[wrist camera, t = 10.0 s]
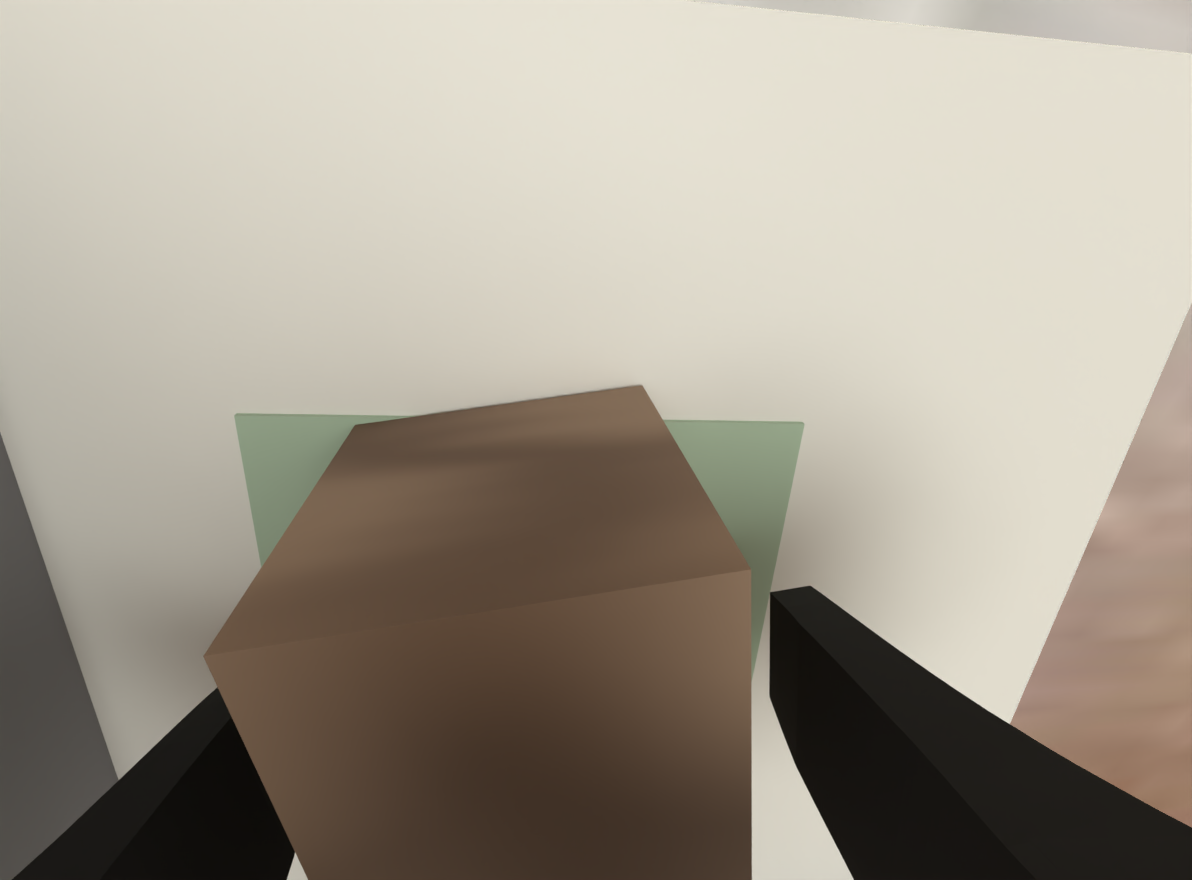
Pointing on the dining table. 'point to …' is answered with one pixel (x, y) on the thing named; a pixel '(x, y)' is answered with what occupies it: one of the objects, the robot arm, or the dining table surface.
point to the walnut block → (503, 654)
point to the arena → (561, 316)
